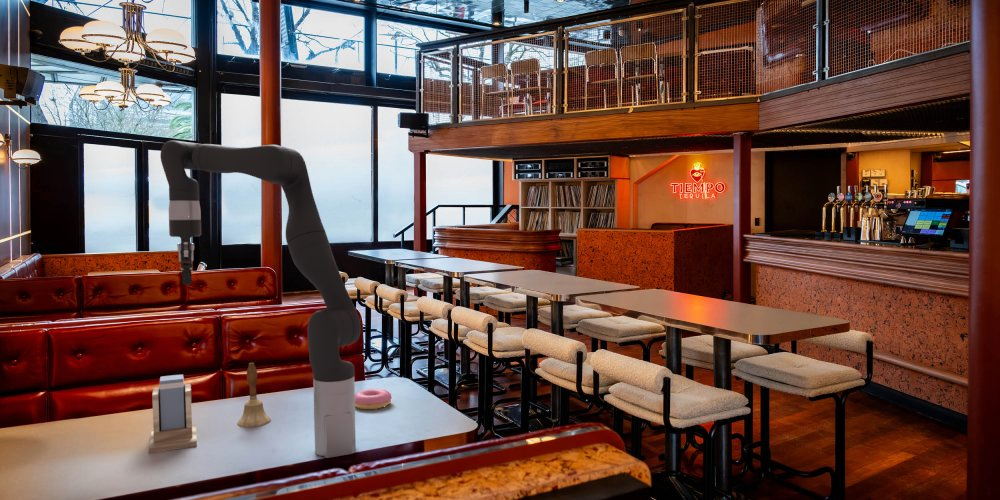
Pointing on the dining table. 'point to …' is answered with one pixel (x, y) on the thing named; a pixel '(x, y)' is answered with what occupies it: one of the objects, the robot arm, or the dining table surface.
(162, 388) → the block
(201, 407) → the dining table surface
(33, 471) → the dining table surface
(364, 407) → the doughnut
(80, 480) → the dining table surface
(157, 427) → the tan frame
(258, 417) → the hand bell
